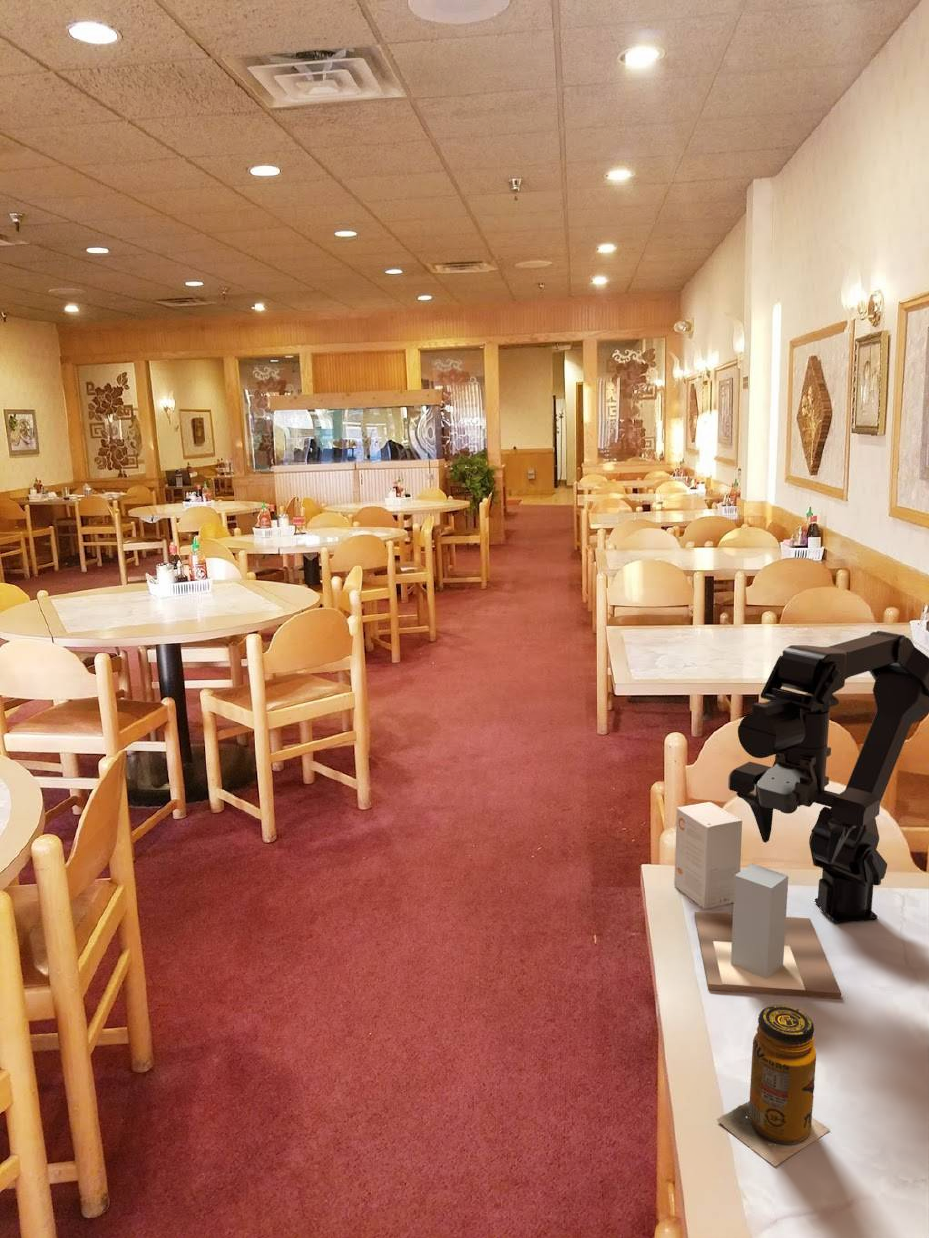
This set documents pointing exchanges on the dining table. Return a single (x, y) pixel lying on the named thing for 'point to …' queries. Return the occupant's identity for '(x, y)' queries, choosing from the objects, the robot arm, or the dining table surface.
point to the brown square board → (795, 977)
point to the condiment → (779, 1087)
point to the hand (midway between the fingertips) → (797, 851)
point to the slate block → (759, 920)
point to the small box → (707, 853)
